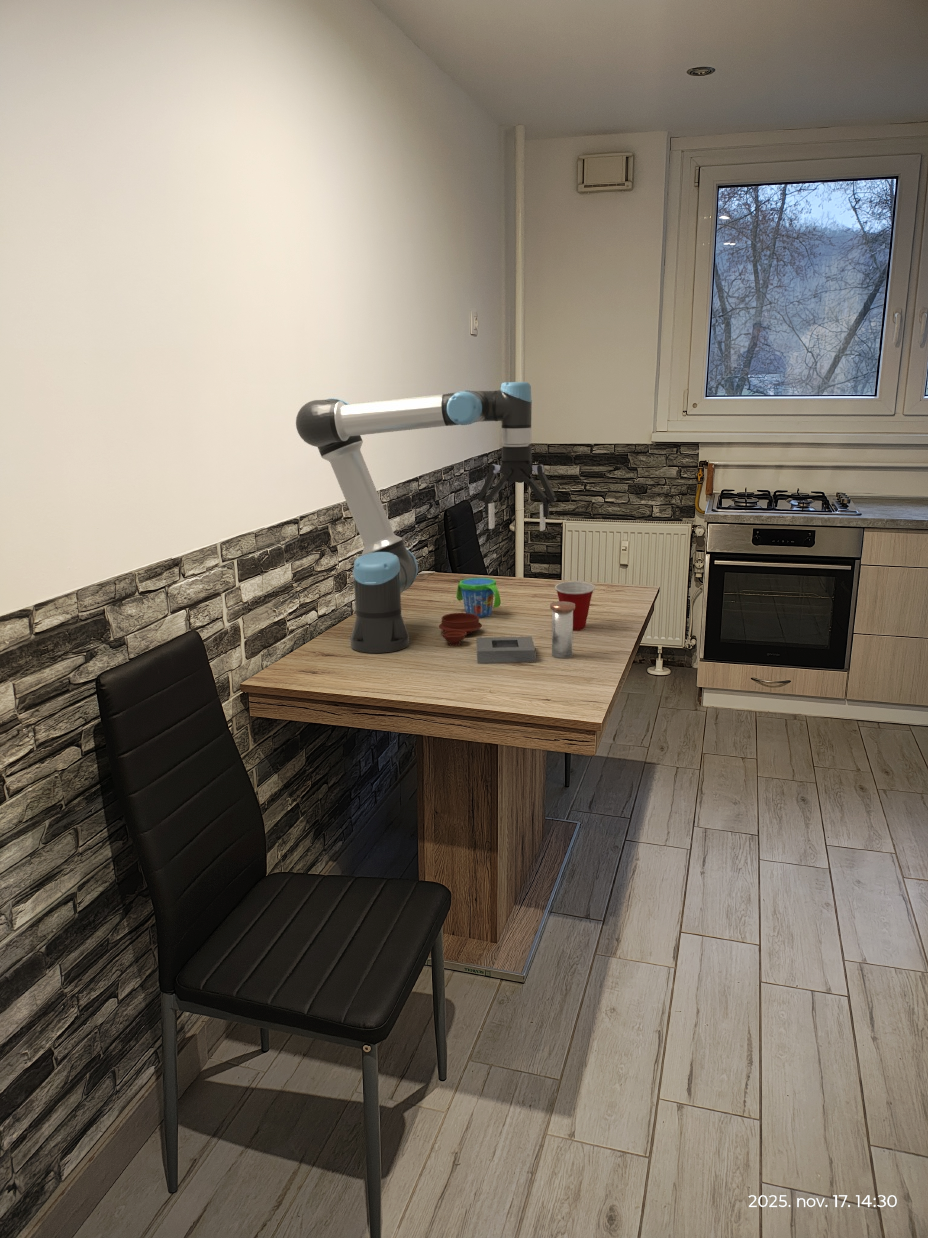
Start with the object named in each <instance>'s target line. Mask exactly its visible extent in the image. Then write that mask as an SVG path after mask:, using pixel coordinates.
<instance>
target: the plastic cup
mask: <svg viewBox="0 0 928 1238" xmlns="http://www.w3.org/2000/svg"><path fill="white" fill-rule="evenodd" d="M554 589H555V591H556V594H557V598H558V602H559V601H565V602H572V603H574V604H575V609H574V610H573V631H582V630H584V629H585V627H586V624H587V620H588V615H589V611H590V605H591V600H592V599H591V598H592V596H593V592H594V590H596V586H595V585H594V584H592V583H590V582H587V581H583V580H582V581H581V580H569V581H568V580H567V581H563V582H559V583H557V584H556V585H555V586H554Z"/></svg>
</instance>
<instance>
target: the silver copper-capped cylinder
mask: <svg viewBox="0 0 928 1238" xmlns="http://www.w3.org/2000/svg"><path fill="white" fill-rule="evenodd" d="M549 606H550V607H549V609H550V610H551V611H552V614H551V615H552V617H551V624H552V626H551V627H552V628H551V656H552V657H553V658H555V659H570V658H572V657H573V649H574V648H573V645H574V644H573V643H574V642H573V641H574V639H573V637H574V636H573V635H574V633H573V632H574V630H573V610H574V609H575V604H574V603H572V602H565V601H559V600H558V601H553V602H551V603H550V604H549Z"/></svg>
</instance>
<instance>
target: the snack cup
mask: <svg viewBox="0 0 928 1238" xmlns="http://www.w3.org/2000/svg"><path fill="white" fill-rule="evenodd" d="M499 592H500V591H499V589H498V587H497V581H496V580H495V579H493V578H489V577H471V578H465V579H463V580H460V581H459V583H458V586H457V588H456V599H457V601H463V607H464V613H471V614H475V615H477V616H479V618H486V617H489V616H490V615H492V612H493V608H495V609H497V608H499V607H500V606H501V604H502V603H501V601H502V600H501V596H500V593H499Z"/></svg>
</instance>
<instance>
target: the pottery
mask: <svg viewBox="0 0 928 1238" xmlns="http://www.w3.org/2000/svg"><path fill="white" fill-rule="evenodd" d="M482 627H483V624H482V623H481V622H480V617H479V616H477V615H475V614H471V613H465V612H455V613H454V612H453V613H448V614H444V615H443V616H441V622H440V624H439V625H438V628H439V629H440V630H441V631H442V633H441V635H442V637H443V638H444V639H445V641H447V642H449V643H448V645H450V646H455V647H456V646H460V645H461V642H462V641H463V640H464V639H465V638H466V636H468V635H471V634H472V632H473V631H477V630H479V629H481V628H482Z"/></svg>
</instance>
